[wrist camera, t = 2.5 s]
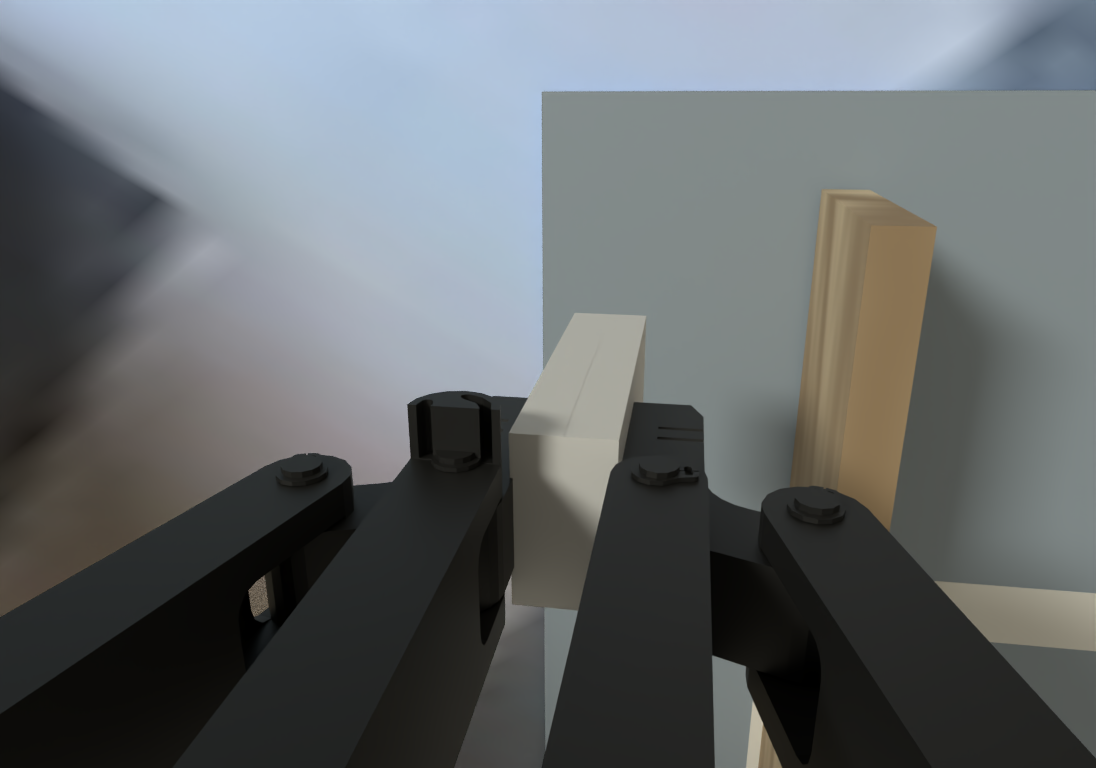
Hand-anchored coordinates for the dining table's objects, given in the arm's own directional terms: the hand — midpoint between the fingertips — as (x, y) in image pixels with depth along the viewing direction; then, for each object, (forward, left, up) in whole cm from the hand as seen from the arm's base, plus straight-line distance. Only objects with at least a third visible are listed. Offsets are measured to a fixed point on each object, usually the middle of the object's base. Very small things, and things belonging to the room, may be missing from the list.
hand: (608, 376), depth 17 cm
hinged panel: (+6, -3, -6) cm, 9 cm away
